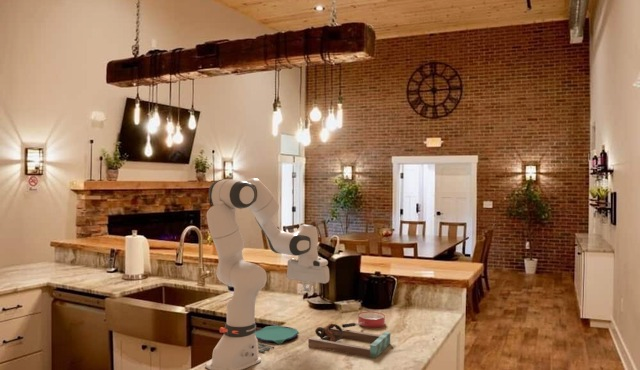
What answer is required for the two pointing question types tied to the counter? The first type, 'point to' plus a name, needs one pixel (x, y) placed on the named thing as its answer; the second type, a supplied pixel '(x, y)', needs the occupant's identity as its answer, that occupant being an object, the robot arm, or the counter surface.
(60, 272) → the counter surface
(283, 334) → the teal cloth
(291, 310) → the counter surface
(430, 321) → the counter surface
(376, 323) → the frying pan
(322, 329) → the dark brown looped piece
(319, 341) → the guide
